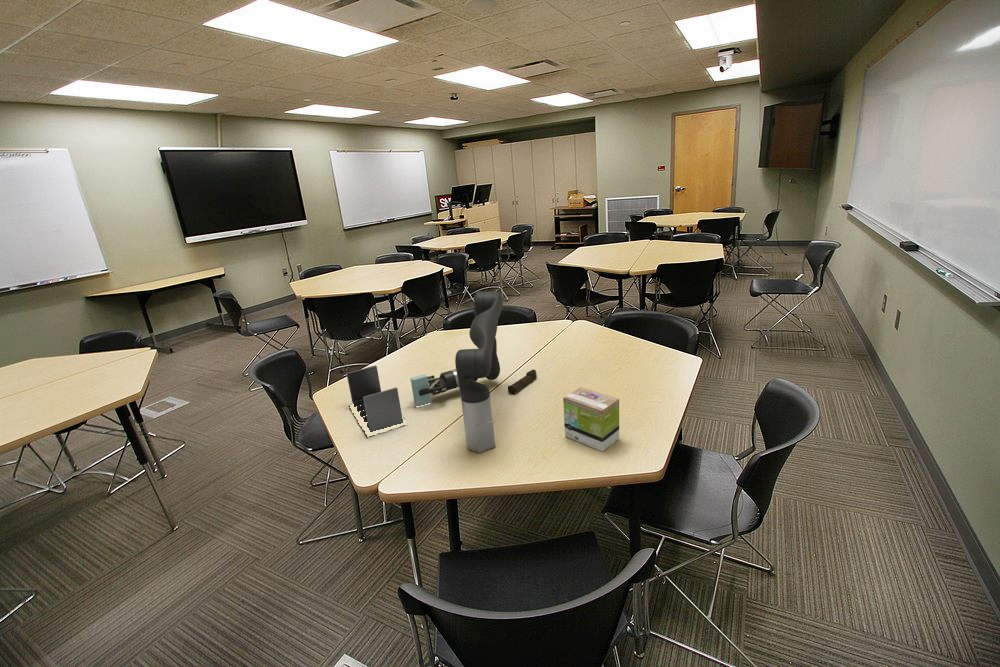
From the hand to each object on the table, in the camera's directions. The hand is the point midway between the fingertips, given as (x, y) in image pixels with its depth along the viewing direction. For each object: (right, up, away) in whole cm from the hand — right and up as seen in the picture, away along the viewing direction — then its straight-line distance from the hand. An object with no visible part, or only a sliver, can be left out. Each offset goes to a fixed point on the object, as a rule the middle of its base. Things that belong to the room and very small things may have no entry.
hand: (415, 390), depth 180 cm
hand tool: (+43, 0, +12) cm, 45 cm away
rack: (-15, -10, -3) cm, 18 cm away
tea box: (+63, -12, -31) cm, 71 cm away
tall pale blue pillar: (+2, -6, +3) cm, 7 cm away
